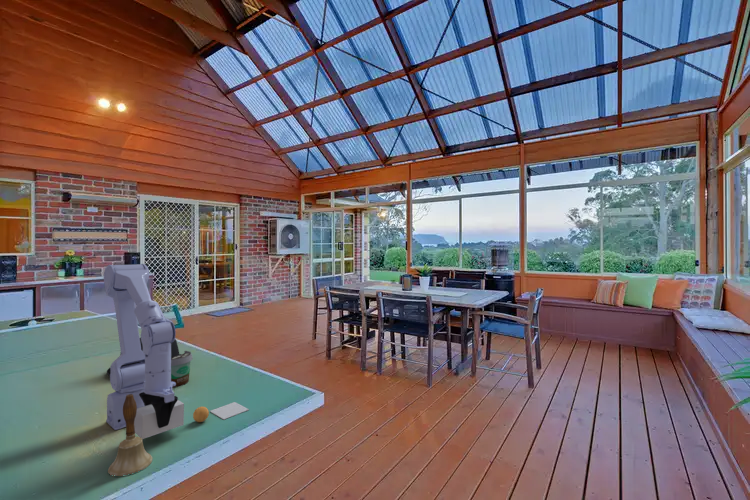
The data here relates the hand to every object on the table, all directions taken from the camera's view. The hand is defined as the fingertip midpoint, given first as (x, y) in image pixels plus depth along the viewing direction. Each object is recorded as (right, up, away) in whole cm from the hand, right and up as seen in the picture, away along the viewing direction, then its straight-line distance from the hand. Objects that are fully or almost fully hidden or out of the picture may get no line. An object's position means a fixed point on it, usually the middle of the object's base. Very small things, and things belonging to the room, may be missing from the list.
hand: (158, 422), depth 92 cm
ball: (+7, -2, +9) cm, 11 cm away
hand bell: (+1, -4, -12) cm, 12 cm away
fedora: (-34, -4, +51) cm, 62 cm away
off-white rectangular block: (0, -2, 0) cm, 2 cm away
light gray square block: (+12, -4, +15) cm, 20 cm away
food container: (-14, -4, +36) cm, 39 cm away
